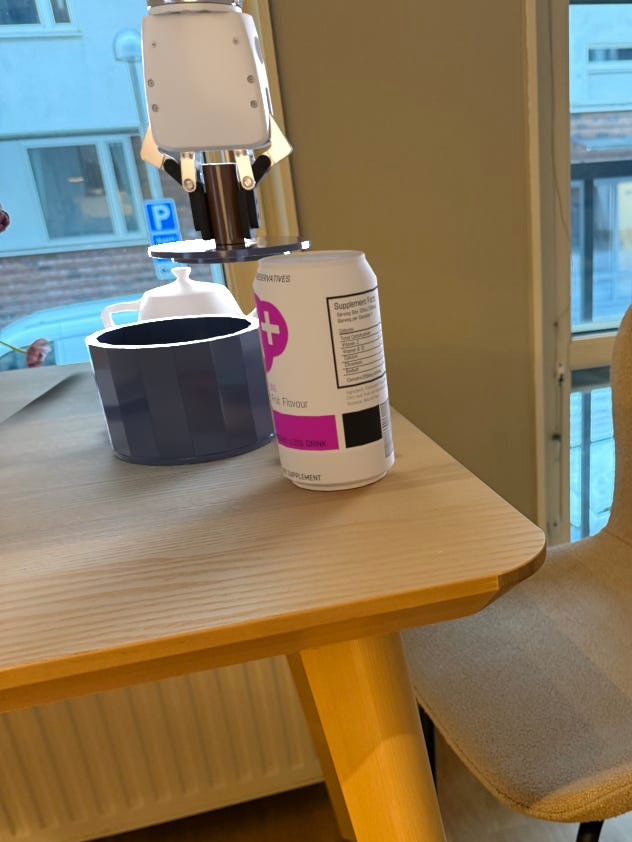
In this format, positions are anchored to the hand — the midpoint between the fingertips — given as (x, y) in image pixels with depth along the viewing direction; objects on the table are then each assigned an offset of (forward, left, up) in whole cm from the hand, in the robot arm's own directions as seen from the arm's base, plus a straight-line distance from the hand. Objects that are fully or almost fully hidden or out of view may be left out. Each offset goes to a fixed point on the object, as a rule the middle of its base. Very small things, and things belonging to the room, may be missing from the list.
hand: (229, 236), depth 85 cm
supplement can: (+10, -27, -15) cm, 32 cm away
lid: (0, 0, -1) cm, 1 cm away
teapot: (-9, +19, -15) cm, 26 cm away
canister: (-3, -15, -14) cm, 21 cm away
